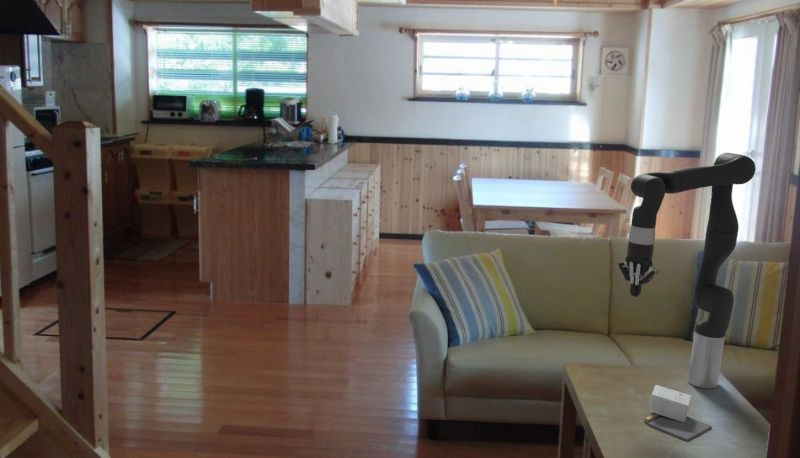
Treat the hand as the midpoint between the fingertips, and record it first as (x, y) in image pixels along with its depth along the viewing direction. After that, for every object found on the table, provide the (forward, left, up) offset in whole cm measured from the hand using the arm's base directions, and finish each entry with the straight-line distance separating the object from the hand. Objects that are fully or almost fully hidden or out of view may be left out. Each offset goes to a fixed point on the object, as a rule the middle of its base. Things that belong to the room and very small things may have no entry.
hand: (634, 295), depth 235 cm
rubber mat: (+9, +24, -31) cm, 40 cm away
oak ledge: (+9, +17, -31) cm, 37 cm away
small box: (+7, +13, -26) cm, 31 cm away
